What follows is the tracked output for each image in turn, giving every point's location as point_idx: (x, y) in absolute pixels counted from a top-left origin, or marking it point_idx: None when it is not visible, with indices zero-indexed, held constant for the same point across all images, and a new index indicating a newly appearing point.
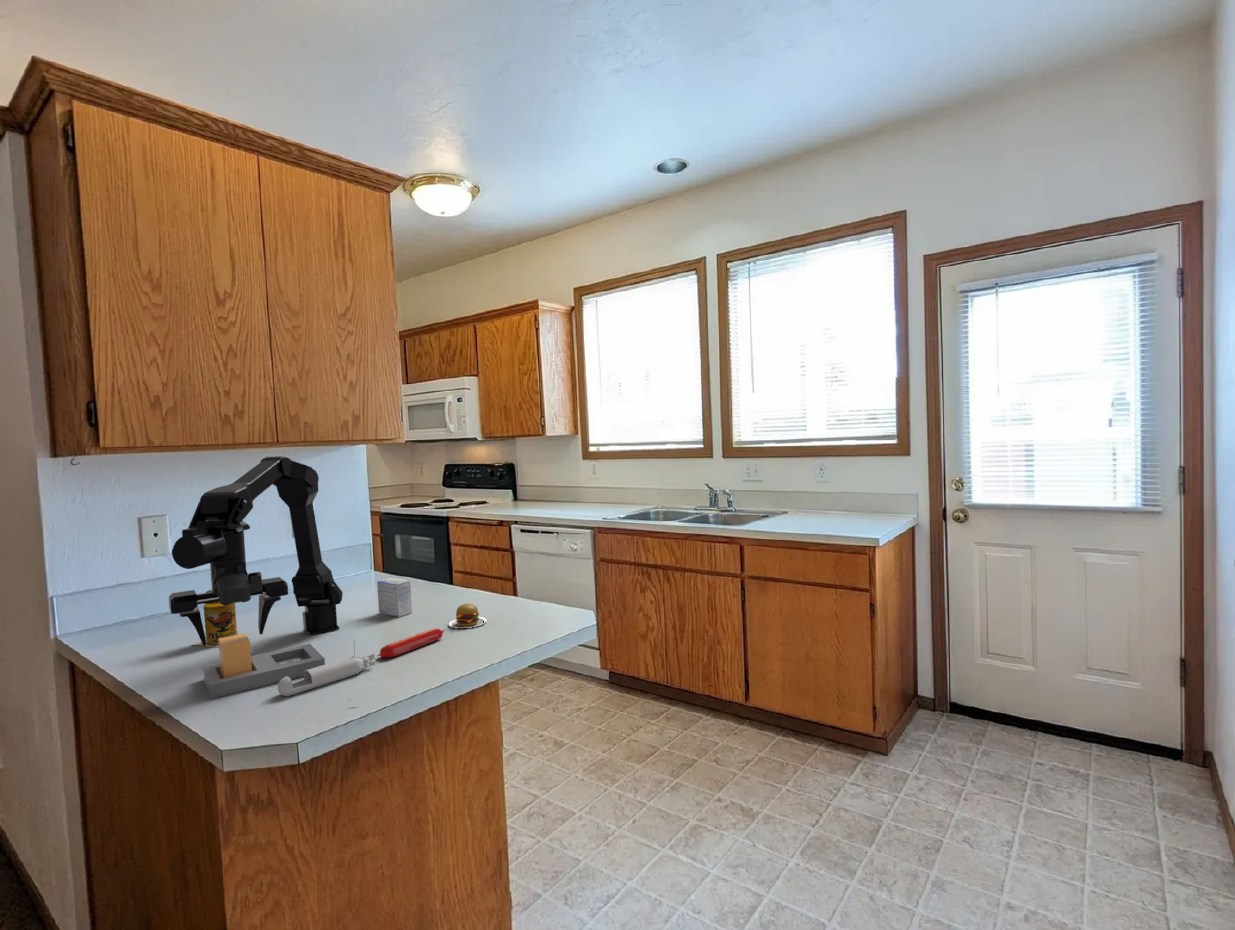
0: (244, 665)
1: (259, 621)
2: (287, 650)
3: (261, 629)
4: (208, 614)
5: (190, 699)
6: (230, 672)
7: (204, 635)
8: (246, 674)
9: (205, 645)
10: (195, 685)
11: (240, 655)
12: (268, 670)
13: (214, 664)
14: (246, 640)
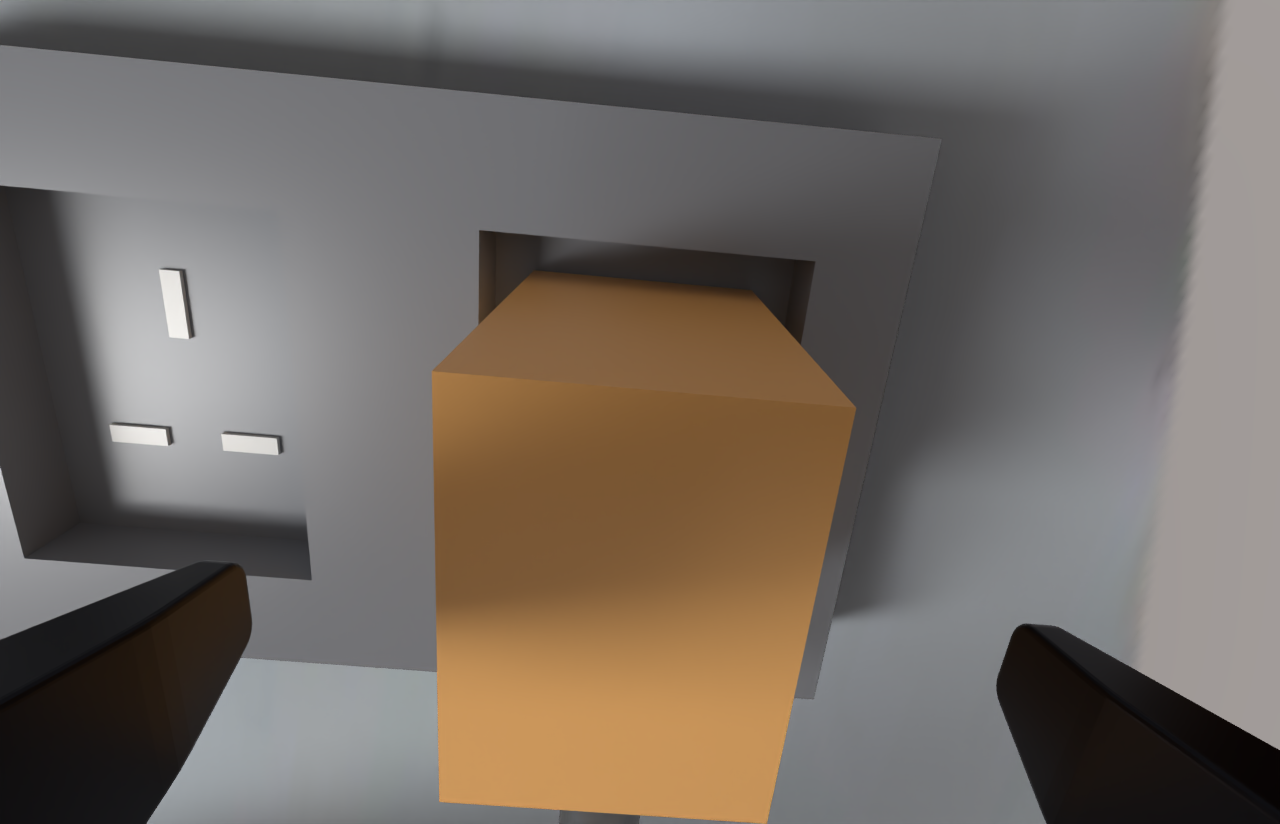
0: (580, 300)
1: (75, 795)
2: None
3: (157, 595)
4: None
5: (995, 272)
6: (714, 303)
7: (1173, 726)
8: (593, 173)
9: (1019, 626)
10: (865, 555)
11: (607, 327)
12: (386, 116)
13: None
14: (477, 435)
